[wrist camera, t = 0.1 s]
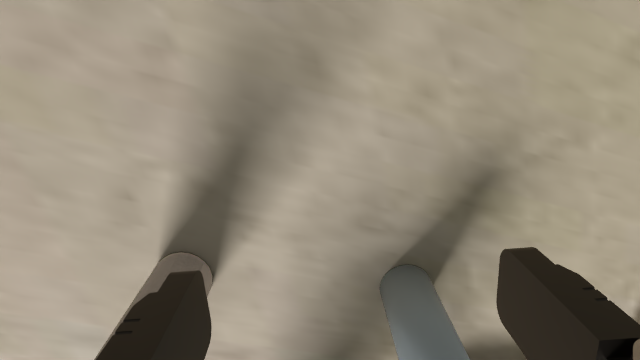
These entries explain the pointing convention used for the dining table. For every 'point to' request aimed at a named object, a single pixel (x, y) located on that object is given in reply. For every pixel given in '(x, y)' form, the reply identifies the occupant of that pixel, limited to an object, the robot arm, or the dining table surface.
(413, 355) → the peg
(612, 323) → the robot arm
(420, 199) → the dining table surface
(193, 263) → the bottle
